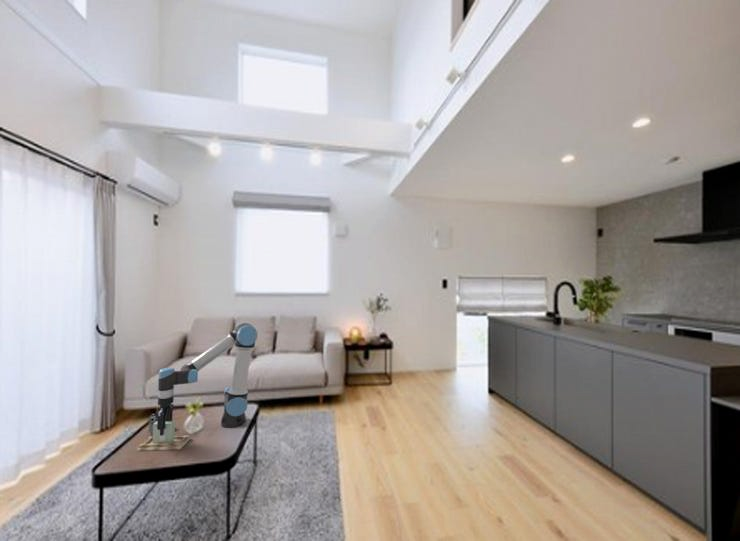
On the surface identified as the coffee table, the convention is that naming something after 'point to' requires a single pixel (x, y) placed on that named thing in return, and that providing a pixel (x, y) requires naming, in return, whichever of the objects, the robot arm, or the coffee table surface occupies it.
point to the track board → (164, 444)
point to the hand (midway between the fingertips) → (164, 438)
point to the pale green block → (169, 433)
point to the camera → (151, 421)
